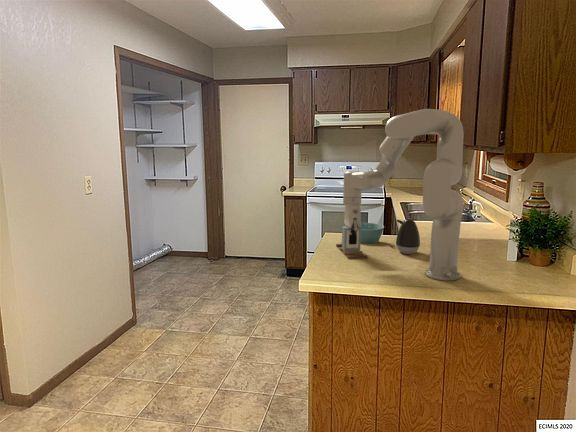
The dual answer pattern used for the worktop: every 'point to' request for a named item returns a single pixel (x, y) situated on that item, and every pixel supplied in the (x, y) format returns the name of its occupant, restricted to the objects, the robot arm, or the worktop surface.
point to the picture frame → (345, 239)
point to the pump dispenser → (408, 237)
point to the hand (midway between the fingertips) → (351, 242)
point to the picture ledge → (351, 253)
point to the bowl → (370, 232)
